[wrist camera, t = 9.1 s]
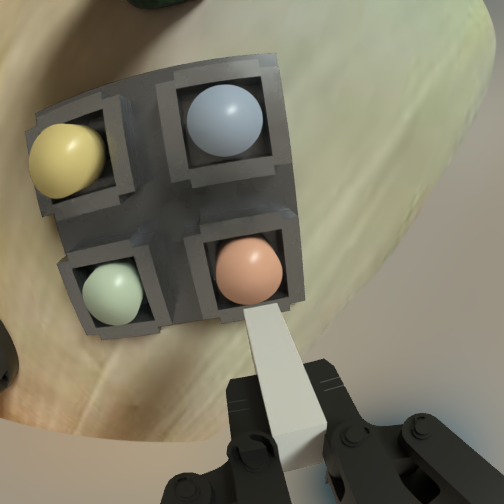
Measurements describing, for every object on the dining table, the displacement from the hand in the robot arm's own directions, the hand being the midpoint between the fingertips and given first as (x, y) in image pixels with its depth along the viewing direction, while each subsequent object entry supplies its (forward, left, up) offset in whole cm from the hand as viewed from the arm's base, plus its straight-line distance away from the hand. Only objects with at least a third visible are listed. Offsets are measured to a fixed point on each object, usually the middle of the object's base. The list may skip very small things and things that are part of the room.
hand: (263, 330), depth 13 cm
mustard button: (-10, +10, -8) cm, 16 cm away
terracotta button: (0, 0, -10) cm, 10 cm away
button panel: (-5, +5, -11) cm, 13 cm away
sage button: (-10, 0, -10) cm, 14 cm away
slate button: (0, +10, -10) cm, 14 cm away
